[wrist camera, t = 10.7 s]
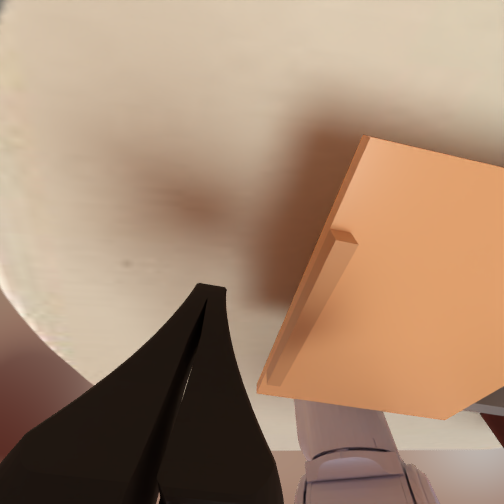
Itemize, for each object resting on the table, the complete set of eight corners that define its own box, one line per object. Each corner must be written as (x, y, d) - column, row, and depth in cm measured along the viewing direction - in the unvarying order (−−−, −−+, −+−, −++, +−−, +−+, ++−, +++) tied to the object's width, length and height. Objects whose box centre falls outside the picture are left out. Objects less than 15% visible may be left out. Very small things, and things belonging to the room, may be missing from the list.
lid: (439, 410, 17) (452, 433, 16) (256, 384, 16) (256, 406, 15) (741, 222, 8) (824, 243, 7) (362, 134, 7) (383, 141, 6)
